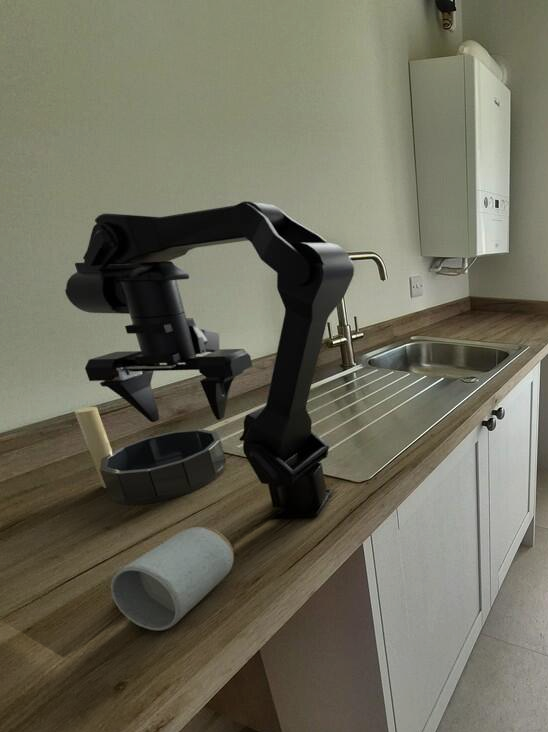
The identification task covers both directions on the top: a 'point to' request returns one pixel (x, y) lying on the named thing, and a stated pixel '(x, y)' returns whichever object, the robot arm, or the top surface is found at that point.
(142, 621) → the pale grey cup
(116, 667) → the top surface
